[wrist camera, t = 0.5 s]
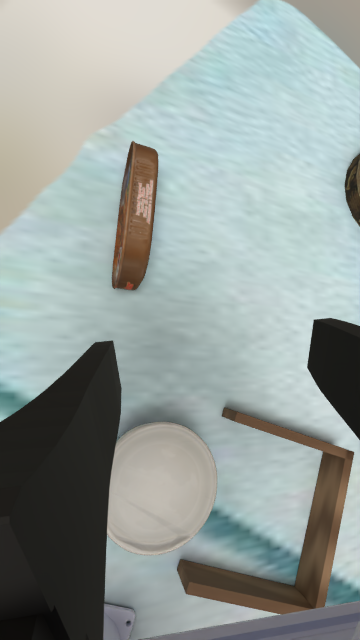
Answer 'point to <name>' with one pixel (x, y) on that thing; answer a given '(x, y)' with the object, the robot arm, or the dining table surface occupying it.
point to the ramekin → (159, 488)
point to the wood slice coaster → (353, 188)
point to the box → (315, 549)
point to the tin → (135, 217)
